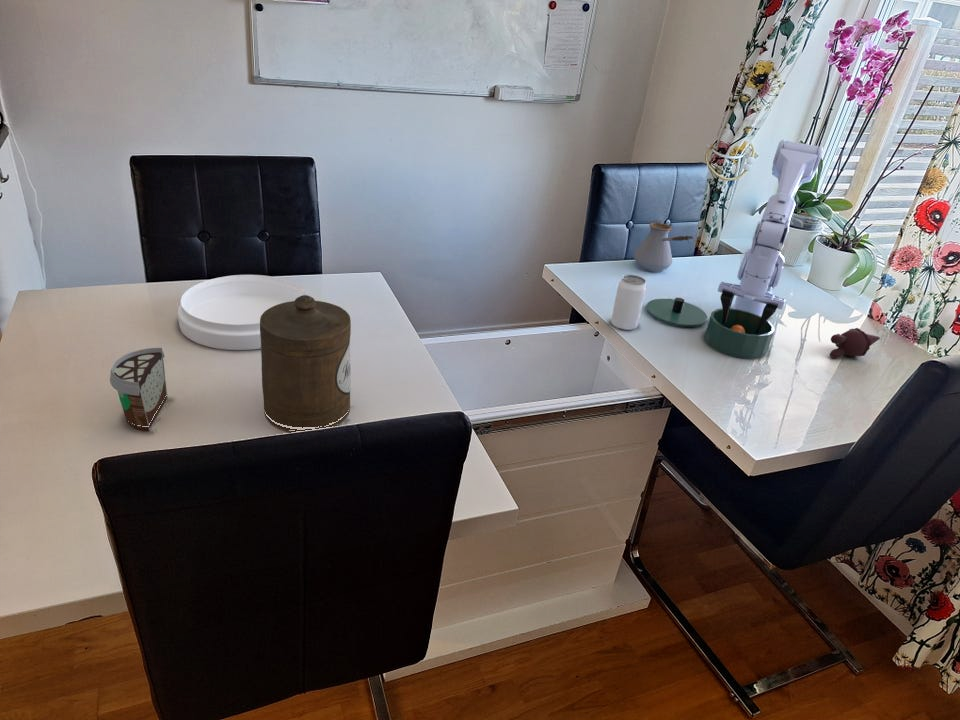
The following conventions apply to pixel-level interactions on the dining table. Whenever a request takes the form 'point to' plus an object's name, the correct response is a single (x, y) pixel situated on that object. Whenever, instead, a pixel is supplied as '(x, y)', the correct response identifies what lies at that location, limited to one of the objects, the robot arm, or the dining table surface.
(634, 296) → the can
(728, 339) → the pot
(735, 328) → the carrot
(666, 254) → the coffee pot
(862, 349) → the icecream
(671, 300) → the pot lid
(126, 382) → the food container
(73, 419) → the dining table surface
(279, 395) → the wooden container
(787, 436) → the dining table surface
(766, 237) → the robot arm
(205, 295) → the plate
